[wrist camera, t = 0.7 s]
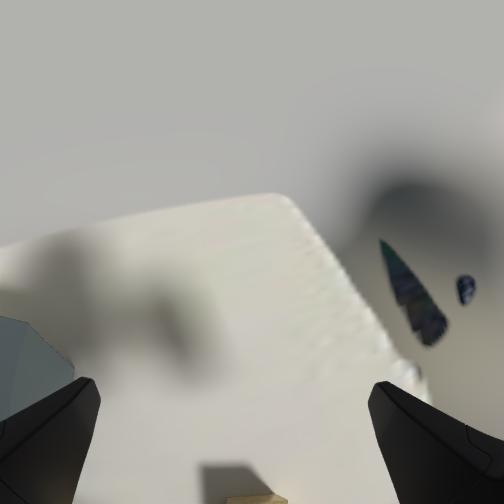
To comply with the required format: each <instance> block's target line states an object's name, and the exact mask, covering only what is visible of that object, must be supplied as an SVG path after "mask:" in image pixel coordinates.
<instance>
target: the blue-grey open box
mask: <svg viewBox="0 0 504 504" xmlns="http://www.w3.org/2000/svg"><path fill="white" fill-rule="evenodd" d="M74 369H75V368H74V367H73V366H72V365H71V364H69V363H68V362H67V361H66V360H65V359H64V358H63V357H62V356H61V355H59V354H58V353H57V352H56V351H55V350H54V349H53V348H52V347H51V346H50V345H49V344H48V343H47V342H46V341H45V340H44V339H43V338H42V337H41V336H40V335H39V334H38V333H37V332H36V331H35V330H34V329H33V328H32V327H31V326H30V325H29V323H27V322H23V321H19V320H15V319H11V318H7V317H3V316H0V422H1V421H2V420H4V419H7V418H8V417H10V416H12V415H14V414H16V413H17V412H19V411H21V410H23V409H25V408H27V407H28V406H30V405H32V404H34V403H36V402H37V401H39V400H41V399H43V398H45V397H46V396H48V395H50V394H52V393H54V392H55V391H57V390H59V389H61V388H62V387H64V386H66V385H68V384H70V383H71V382H73V375H74Z"/></svg>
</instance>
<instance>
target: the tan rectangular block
mask: <svg viewBox="0 0 504 504" xmlns="http://www.w3.org/2000/svg"><path fill="white" fill-rule="evenodd" d="M226 500H227V504H288V501H287V499H285V498H283V497H281V496H279V495H277V494H275V493H274V494H267V495H257V496H246V497H230V498H226Z"/></svg>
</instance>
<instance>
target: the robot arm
mask: <svg viewBox="0 0 504 504" xmlns="http://www.w3.org/2000/svg"><path fill="white" fill-rule="evenodd" d="M100 403H101V398H100V395H99V392H98V389H97V387H96V384H95V382H94V380H93V379H91V378H87V377H80V378H78V379H77V380H75V381H73V382H71V383H70V384H68V385H66V386H64V387H62V388H61V389H59V390H57V391H55V392H54V393H52V394H50V395H48V396H46V397H45V398H43V399H41V400H39V401H37V402H36V403H34V404H32V405H30V406H28V407H27V408H25V409H23V410H21V411H19V412H17V413H16V414H14V415H12V416H10V417H8V418H7V419H4V420H2V421H1V422H0V504H72V502H73V498H74V495H75V491H76V488H77V484H78V481H79V477H80V474H81V471H82V468H83V464H84V461H85V458H86V455H87V452H88V449H89V446H90V443H91V440H92V436H93V432H94V428H95V423H96V419H97V415H98V411H99V407H100ZM368 408H369V411H370V415H371V419H372V423H373V427H374V431H375V435H376V438H377V442H378V445H379V448H380V450H381V453H382V455H383V458H384V461H385V463H386V466H387V469H388V472H389V474H390V477H391V480H392V483H393V485H394V488H395V491H396V494H397V497H398V500H399V503H400V504H504V441H503V440H500V439H497V438H494V437H492V436H490V435H487V434H485V433H482V432H480V431H478V430H476V429H474V428H472V427H470V426H468V425H465V424H464V423H462V422H460V421H458V420H456V419H455V418H453V417H451V416H449V415H447V414H445V413H443V412H442V411H440V410H438V409H436V408H434V407H432V406H430V405H429V404H427V403H425V402H423V401H421V400H420V399H418V398H416V397H414V396H412V395H411V394H409V393H407V392H405V391H404V390H402V389H400V388H398V387H397V386H395V385H393V384H392V383H390V382H388V381H383V382H378V383H376V384H375V385H374V387H373V389H372V392H371V395H370V397H369V400H368Z"/></svg>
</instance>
